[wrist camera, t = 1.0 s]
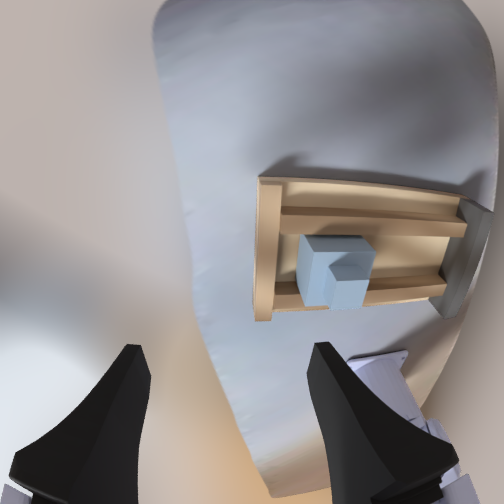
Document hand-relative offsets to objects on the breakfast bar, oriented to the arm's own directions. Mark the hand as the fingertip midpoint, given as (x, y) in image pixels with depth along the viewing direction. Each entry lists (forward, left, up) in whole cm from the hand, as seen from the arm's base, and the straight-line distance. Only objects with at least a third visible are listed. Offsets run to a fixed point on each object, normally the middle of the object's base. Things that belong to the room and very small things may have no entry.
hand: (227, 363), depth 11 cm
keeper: (0, -7, -9) cm, 11 cm away
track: (0, -11, -10) cm, 15 cm away
